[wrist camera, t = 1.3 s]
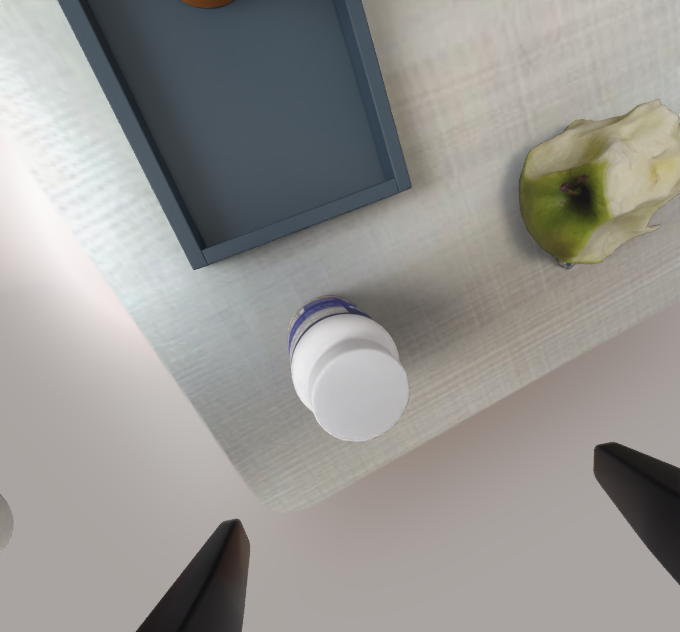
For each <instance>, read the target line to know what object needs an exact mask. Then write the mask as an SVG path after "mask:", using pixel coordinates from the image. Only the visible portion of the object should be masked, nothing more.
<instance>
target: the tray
mask: <svg viewBox="0 0 680 632" xmlns="http://www.w3.org/2000/svg"><path fill="white" fill-rule="evenodd" d="M58 2H59V4H60V6H61V8H62V10H63V12H64V14H65V16H66V18H67V20H68V22H69V24H70V26H71V28H72V30H73V32H74V34H75V36H76V38H77V40H78V42H79V44H80V46H81V48H82V50H83V52H84V54H85V56H86V58H87V60H88V62H89V64H90V66H91V68H92V70H93V72H94V74H95V76H96V78H97V80H98V82H99V83H100V85H101V87H102V89H103V91H104V93H105V95H106V97H107V99H108V101H109V103H110V105H111V107H112V109H113V111H114V113H115V115H116V117H117V119H118V121H119V123H120V125H121V127H122V129H123V131H124V133H125V135H126V137H127V139H128V141H129V143H130V145H131V147H132V149H133V151H134V153H135V155H136V157H137V159H138V161H139V163H140V165H141V167H142V169H143V171H144V173H145V175H146V177H147V179H148V181H149V183H150V185H151V187H152V189H153V191H154V193H155V195H156V197H157V199H158V201H159V203H160V205H161V207H162V209H163V211H164V213H165V215H166V217H167V218H168V220H169V222H170V224H171V226H172V228H173V230H174V232H175V234H176V236H177V238H178V240H179V242H180V244H181V246H182V248H183V250H184V252H185V254H186V256H187V258H188V260H189V262H190V264H191V266H192V268H193V270H196V269H199V268H202V267H204V266H207V265H209V264H212V263H215V262H217V261H220V260H223V259H225V258H228V257H231V256H233V255H236V254H239V253H241V252H244V251H246V250H249V249H252V248H254V247H257V246H260V245H262V244H265V243H268V242H270V241H273V240H276V239H278V238H281V237H284V236H286V235H289V234H291V233H294V232H297V231H299V230H302V229H305V228H307V227H310V226H313V225H315V224H318V223H321V222H323V221H326V220H328V219H331V218H334V217H336V216H339V215H342V214H344V213H347V212H350V211H352V210H355V209H358V208H360V207H363V206H365V205H368V204H371V203H373V202H376V201H379V200H381V199H384V198H387V197H389V196H392V195H395V194H397V193H400V192H402V191H405V190H408V189H410V188H411V187H412V186H411V182H410V179H409V175H408V171H407V168H406V164H405V160H404V157H403V153H402V149H401V145H400V142H399V138H398V134H397V131H396V127H395V123H394V119H393V116H392V112H391V108H390V105H389V101H388V97H387V94H386V90H385V86H384V82H383V79H382V75H381V71H380V68H379V64H378V60H377V57H376V53H375V49H374V45H373V42H372V38H371V34H370V31H369V27H368V23H367V20H366V16H365V12H364V8H363V5H362V1H361V0H232V1H231V2H229V3H227V4H226V5H223V6H220V7H216V8H200V7H195V6H192V5H189V4H187V3H185V2H183V1H181V0H58Z"/></svg>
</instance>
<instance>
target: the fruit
mask: <svg viewBox="0 0 680 632" xmlns="http://www.w3.org/2000/svg"><path fill="white" fill-rule="evenodd" d="M679 192H680V123H679V117H678V115H677V113H675V112H673V111H671V110H670V109H669V108H668V107H667V106H665V105H663V104H661V102H660V100H659V99H655V100H653V101H651V102H648V103H644V104H641V105H638V106H637V107H635V108H634V109H633V110H631V111H630V112H629V113H627V114H625V115H623V116H619V117H613V118H609V119H606V120H603V121H593V120H584V119H581V120H575V121H573V122H572V123H571V124H570V125H569V126H568V127H567V128H566V129H565V131H564V132H563V133H561V134H559V135H557V136H556V137H554V138H552V139H550V140H548V141H546V142H544V143H541V144H540V145H538V146H536V147H535V148H533V149H532V150H531V151H530V152H529V154H528V155H527V157H526V160H525V163H524V166H523V170H522V173H521V176H520V181H519V201H520V211H521V215H522V218H523V220H524V223H525V225H526V228H527V230H528V232H529V233H530V234H531V236H532V237H533V238H534V240H535V241H536V242H537V243H538V244H539V246H540V247H541V248H542V249H544V250H545V251H546V252H548V253H550V254H551V255H553V256H554V257H556V259H557V261H558V263H559V265H561V266H563V267H564V268H565V269H570V268H571V267H572V266H573V265H574V264H575V263H580V264H595V263H600V262H602V260H603V258H605V257H608V256H609V255H611V254H612V253H613V251H614V250H615V249H617V248H618V247H619V246H621V245H622V244H624V243H625V242H627V241H629V240H630V239H632V238H633V237H636V236H639V235H643V234H646V233H648V232H651V231H654V230H656V229H658V228H660V227H661V226H662V225H657V226H648V222H649V220H650V219H651V218H652V216H653V215H654V213H655V212H656V211H657V210H658V209H659V208H660V207H662V206H664V205H665V204H666V203H667V202H669V201H670V200H671V199H673V198H674V197H675V196H676V195H677V194H678V193H679Z"/></svg>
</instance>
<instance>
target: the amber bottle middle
mask: <svg viewBox="0 0 680 632" xmlns="http://www.w3.org/2000/svg"><path fill="white" fill-rule="evenodd" d="M181 1H183V2H185V3H187V4H189V5H192V6H195V7H200V8H216V7H220V6H223V5H226V4H227V3H229V2H231V1H232V0H181Z"/></svg>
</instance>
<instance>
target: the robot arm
mask: <svg viewBox="0 0 680 632" xmlns="http://www.w3.org/2000/svg"><path fill="white" fill-rule="evenodd" d="M594 474H595V477H596V479H597V481H598V482H599V484H600V485H601V486H602V488H603V489H604V490H605V492H606V493H607V494H608V496H609V497H610V498H611V500H612V501H613V502H614V504H615V505H616V507H617V508H618V509H619V511H620V512H621V513H622V514H623V516H624V517H625V519H626V520H627V521H628V523H629V524H630V525H631V527H632V528H633V529H634V531H635V532H636V533H637V535H638V536H639V537H640V539H641V540H642V541H643V542H644V544H645V545H646V546H647V548H648V549H649V550H650V551H651V552H652V554H653V555H654V556H655V557H656V558H657V559H658V561H659V562H660V563H661V564H662V565H663V567H664V568H665V569H666V570H667V571H668V572H669V573H670V574H671V575H672V577H673V578H674V579H675V580H676V581H677V583H678V584H679V585H680V468H678V467H676V466H673V465H670V464H668V463H666V462H663V461H661V460H658V459H656V458H653V457H651V456H648V455H646V454H643V453H641V452H638V451H636V450H633V449H631V448H628V447H626V446H623V445H621V444H618V443H615V442H609V443H605V444H600V445H597V446H596V447H595V449H594ZM249 557H250V543H249V540H248V537H247V535H246V533H245V530H244V528H243V525H242V523H241V521H240V520H239V519H232V520H228V521H224V522H222V523H221V524H220V525H219V526H218V528H217V529H216V530H215V532H214V533H213V534H212V535H211V537H210V538H209V539H208V540H207V542H206V543H205V544H204V546H203V547H202V548H201V549H200V551H199V552H198V553H197V554H196V556H195V557H194V558H193V559H192V561H191V562H190V563H189V565H188V566H187V567H186V568H185V570H184V571H183V572H182V573H181V575H180V576H179V577H178V579H177V580H176V581H175V582H174V584H173V585H172V586H171V588H170V589H169V590H168V591H167V593H166V594H165V595H164V597H163V598H162V599H161V600H160V602H159V603H158V604H157V606H156V607H155V608H154V609H153V610H152V612H151V613H150V614H149V616H148V617H147V618H146V620H145V621H144V622H143V623H142V624H141V626H140V627H139V628H138V630H137V631H136V632H242V625H243V617H244V616H243V615H244V607H245V597H246V587H247V576H248V567H249Z"/></svg>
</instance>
